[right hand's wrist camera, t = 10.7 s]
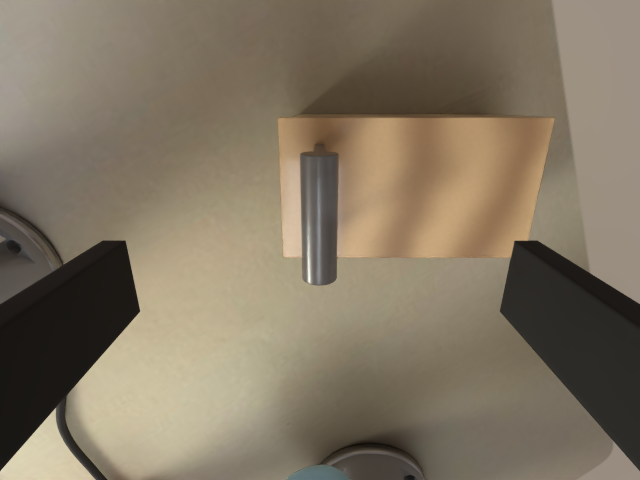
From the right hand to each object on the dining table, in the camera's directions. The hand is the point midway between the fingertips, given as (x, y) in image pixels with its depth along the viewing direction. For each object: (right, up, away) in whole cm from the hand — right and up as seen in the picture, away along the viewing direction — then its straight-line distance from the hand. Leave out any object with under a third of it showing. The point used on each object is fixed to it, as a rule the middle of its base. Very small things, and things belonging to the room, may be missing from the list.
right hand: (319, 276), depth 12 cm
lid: (+6, +5, +13) cm, 15 cm away
